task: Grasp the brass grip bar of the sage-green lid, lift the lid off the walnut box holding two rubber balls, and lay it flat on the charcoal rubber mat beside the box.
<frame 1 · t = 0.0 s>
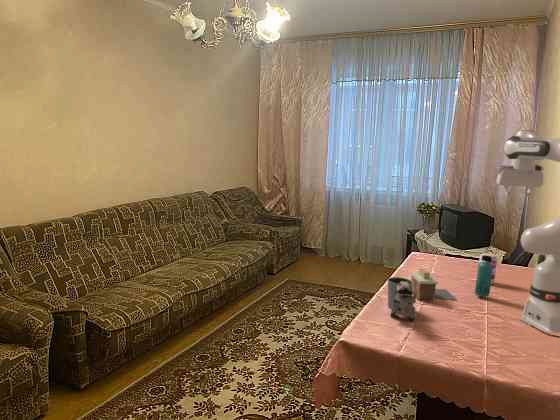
hand: (517, 196, 205), 48 cm above the table, tool pointing down, fingers open, 8 cm apart
lid: (423, 279, 203), point 8 cm above the table, touching box
box: (421, 295, 204), on the table
beverage bottle: (481, 297, 207), on the table
supplement can: (485, 283, 230), on the table
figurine: (401, 320, 175), on the table
drinking glass: (397, 308, 188), on the table
mat: (440, 294, 208), on the table
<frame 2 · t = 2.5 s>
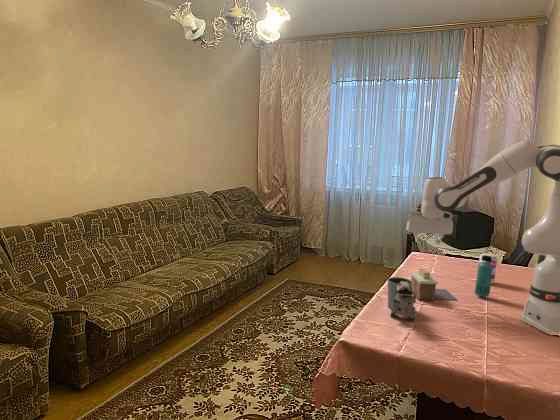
hand: (427, 242, 200), 25 cm above the table, tool pointing down, fingers open, 8 cm apart
nothing on the table moved.
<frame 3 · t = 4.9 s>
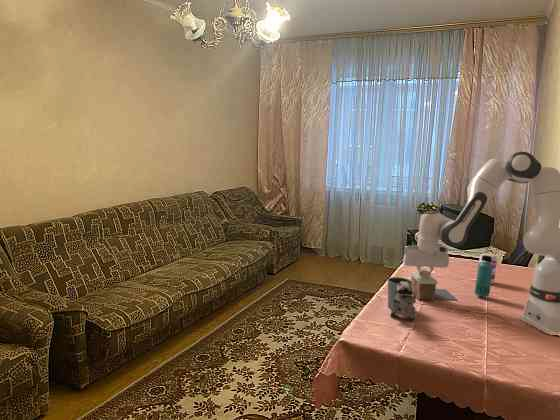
hand: (424, 275, 203), 10 cm above the table, tool pointing down, fingers closed on lid, 2 cm apart
lid: (423, 279, 203), point 8 cm above the table, touching box, gripper
everything else where it was.
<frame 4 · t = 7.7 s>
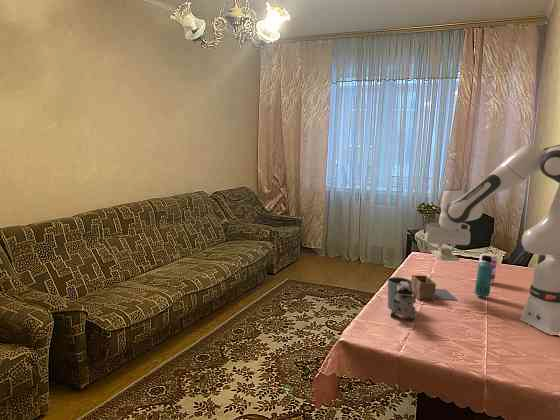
hand: (445, 253, 205), 20 cm above the table, tool pointing down, fingers closed on lid, 2 cm apart
lid: (444, 256, 205), point 18 cm above the table, touching gripper
everything else where it was.
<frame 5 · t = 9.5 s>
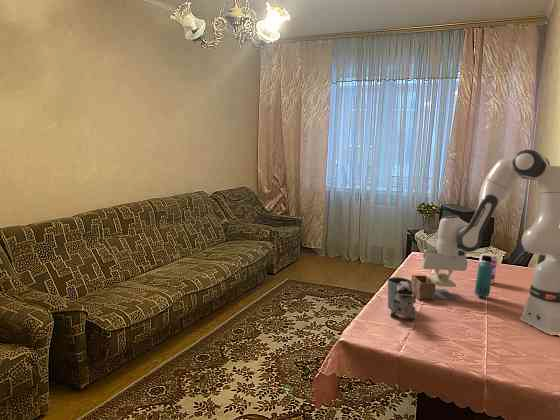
hand: (442, 278, 207), 8 cm above the table, tool pointing down, fingers closed on lid, 2 cm apart
lid: (441, 282, 207), point 6 cm above the table, touching gripper
everything else where it was.
when the fingers open (3 cm above the table, at t = 10.7 s): lid drops 1 cm, resting on mat.
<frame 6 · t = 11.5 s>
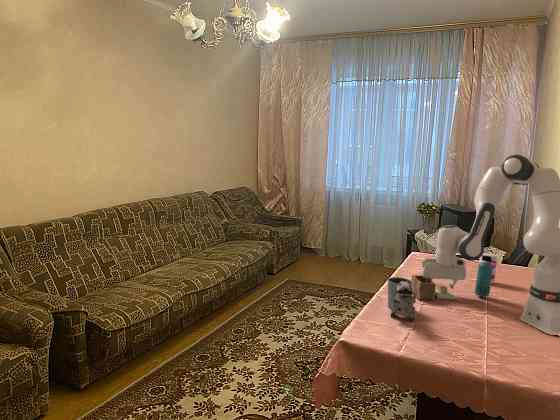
hand: (441, 287, 207), 3 cm above the table, tool pointing down, fingers open, 8 cm apart
lid: (440, 293, 208), resting on mat
everything else where it was.
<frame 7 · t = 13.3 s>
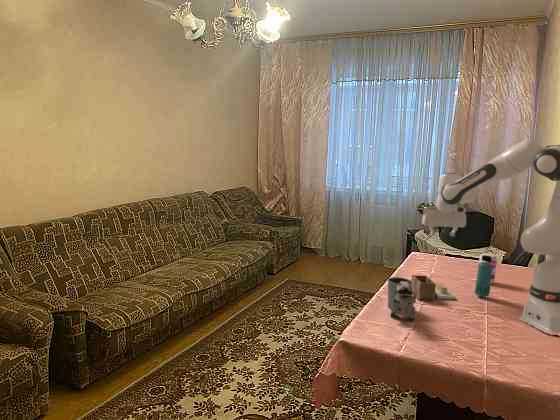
hand: (442, 235, 211), 27 cm above the table, tool pointing down, fingers open, 8 cm apart
nothing on the table moved.
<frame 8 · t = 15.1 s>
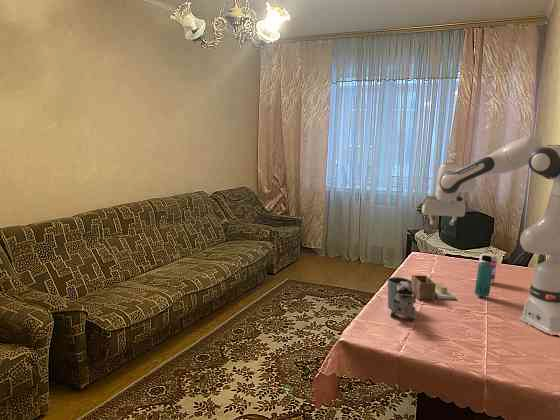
hand: (441, 224, 216), 31 cm above the table, tool pointing down, fingers open, 8 cm apart
nothing on the table moved.
at the end: lid inside the target area (0.1 cm from its centre), resting on mat; lid tilted 0°; the gripper is holding nothing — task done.
